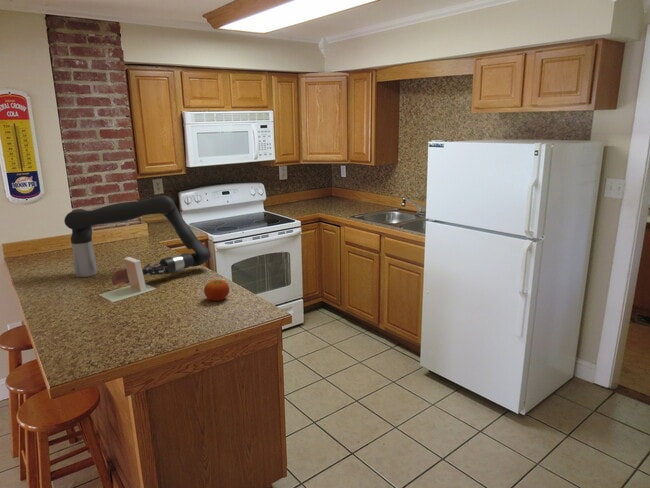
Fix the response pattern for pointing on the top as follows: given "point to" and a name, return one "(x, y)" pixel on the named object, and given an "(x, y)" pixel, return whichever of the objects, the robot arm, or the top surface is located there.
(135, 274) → the white rectangular block
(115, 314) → the top surface
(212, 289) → the fruit
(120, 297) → the cutting board
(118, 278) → the wooden tablet
